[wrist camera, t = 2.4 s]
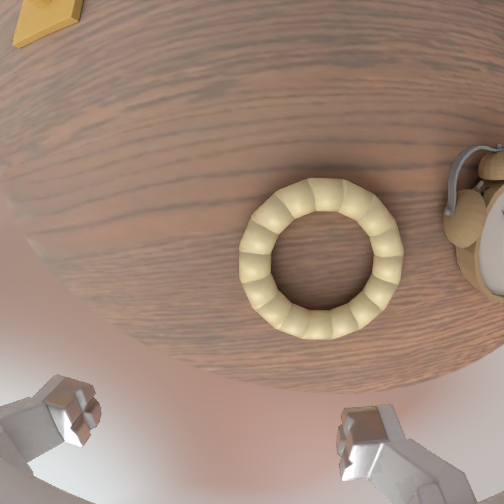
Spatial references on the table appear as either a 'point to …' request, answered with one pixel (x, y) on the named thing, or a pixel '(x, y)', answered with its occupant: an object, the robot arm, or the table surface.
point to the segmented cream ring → (299, 204)
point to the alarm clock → (479, 222)
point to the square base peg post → (44, 18)
